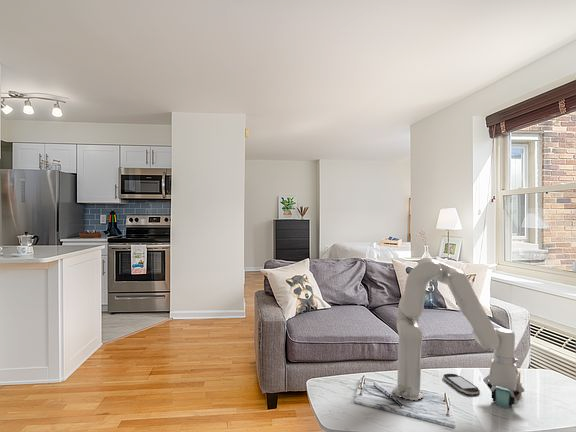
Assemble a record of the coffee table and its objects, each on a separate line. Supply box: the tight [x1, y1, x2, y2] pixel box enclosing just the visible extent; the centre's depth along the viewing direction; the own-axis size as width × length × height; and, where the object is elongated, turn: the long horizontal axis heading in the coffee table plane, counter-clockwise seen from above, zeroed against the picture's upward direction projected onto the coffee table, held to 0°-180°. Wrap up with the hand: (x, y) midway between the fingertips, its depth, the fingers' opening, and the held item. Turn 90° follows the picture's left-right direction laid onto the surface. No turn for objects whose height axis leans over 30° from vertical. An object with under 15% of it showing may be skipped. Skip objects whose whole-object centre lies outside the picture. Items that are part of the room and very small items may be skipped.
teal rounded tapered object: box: [494, 386, 511, 409], centre depth 156 cm, size 6×6×6 cm
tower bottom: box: [515, 382, 523, 401], centre depth 165 cm, size 7×7×5 cm
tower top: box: [517, 371, 521, 388], centre depth 165 cm, size 6×6×5 cm
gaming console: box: [442, 373, 481, 396], centre depth 173 cm, size 19×9×2 cm, turn 9°
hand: (502, 402), depth 156 cm, fingers closed on teal rounded tapered object, 5 cm apart
